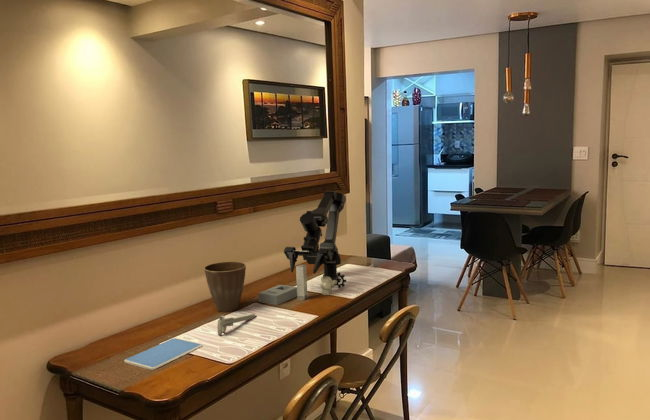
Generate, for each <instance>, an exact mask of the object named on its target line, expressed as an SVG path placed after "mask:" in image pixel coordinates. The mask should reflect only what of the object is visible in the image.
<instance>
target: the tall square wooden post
mask: <svg viewBox="0 0 650 420" xmlns="http://www.w3.org/2000/svg"><path fill="white" fill-rule="evenodd" d="M295 275H296V287H297V298H296V299H297V300H299V301H300V300H301V301H306V299H308V296H309V294H308V277H307V276H308V275H307V264H298V265H295Z"/></svg>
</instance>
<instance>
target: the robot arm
mask: <svg viewBox="0 0 650 420" xmlns="http://www.w3.org/2000/svg"><path fill="white" fill-rule="evenodd" d="M346 201H347V197H346V195H344V193H342V192H337V191H335V190H326V191H324V192H323V196H322V198H321V199H320V201H319V204H318V205H317V208H315V209H313V210H306V212H305V213H303V214H302V215H301V216H300V217H299V221H300V223H301V226H302V228H303V229H304V231H305V232H306V234H305V236H303V244H302V245H301V246H300V248H301V250H297V248H296V246H285V247H284V249H283V254H284V255H285V257H286V258H287V259H288V260H289V265H290V271H291V273H294V271H295V268H296V263H297V262H298V260H297V259H298V257H299V256H300V257H301V256H302V258H303V261H306V263H307V264H308V265H313V270H312V273H313V274H314V275H315V274H316V273H317V272H318V270H319V269H320V267H322V266H323V274H322V277H330V278H331V280H332V278H334V277H335V276H333V274H337V273H338V269H337V266H339V265H341V264H342V263H341V262H342V257H341V255H340V253H339V249H338V246H337V245H336V240H337V234H338V226H339V225H338V224H339V218H340V213H341V212H342V211H343V210H344V209H345V204H346V203H347V202H346ZM325 227H326V230H325V236H324V241H323V242H320V238H321V237H323V233H322V232H323V230H322V229H321V228H325ZM319 243H320V244H319ZM337 275H338V274H337ZM337 278H339V276H337ZM337 278H336V279H337Z"/></svg>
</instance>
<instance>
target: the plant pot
mask: <svg viewBox="0 0 650 420" xmlns="http://www.w3.org/2000/svg"><path fill="white" fill-rule="evenodd" d="M246 268H247V265H246V263H244V262H241V261H222V262H214V263H210V264H208V265H206V266H204V268H203V269H204V274H205V279H206V283H207V287H208V289H209V293H210V296H211V298H212V300H213V303H214V306H215V307H216V309H217V311H219V312H221V313H222V312H223V313H226V312H227V311H228V312H234V311H236V310H237V309H239V308H238V307H239V305H240V302H241V299H242V294H243V289H244V284H245V280H246V279H245V278H246V270H247V269H246ZM225 311H226V312H225ZM228 312H227V313H228Z"/></svg>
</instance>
